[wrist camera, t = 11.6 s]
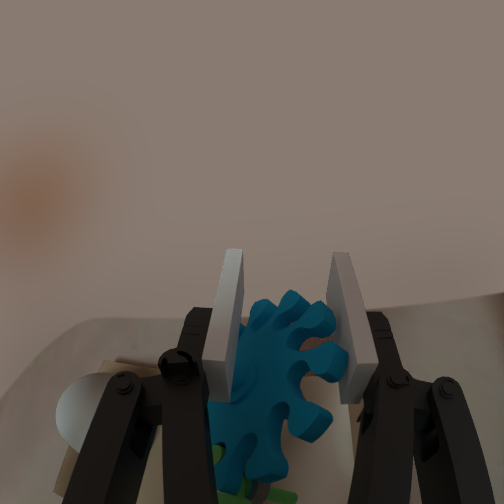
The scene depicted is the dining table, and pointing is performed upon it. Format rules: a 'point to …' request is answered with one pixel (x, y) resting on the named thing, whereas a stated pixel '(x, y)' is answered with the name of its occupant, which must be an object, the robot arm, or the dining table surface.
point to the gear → (271, 398)
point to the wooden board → (152, 496)
